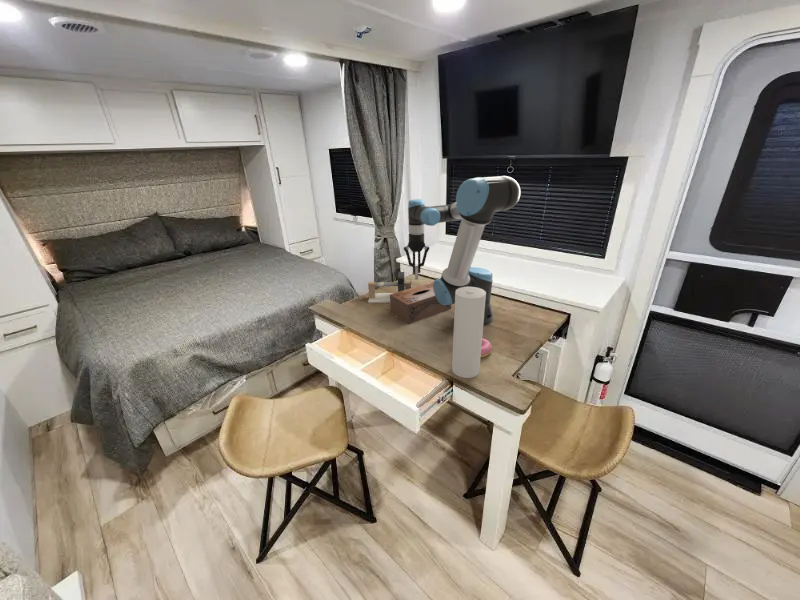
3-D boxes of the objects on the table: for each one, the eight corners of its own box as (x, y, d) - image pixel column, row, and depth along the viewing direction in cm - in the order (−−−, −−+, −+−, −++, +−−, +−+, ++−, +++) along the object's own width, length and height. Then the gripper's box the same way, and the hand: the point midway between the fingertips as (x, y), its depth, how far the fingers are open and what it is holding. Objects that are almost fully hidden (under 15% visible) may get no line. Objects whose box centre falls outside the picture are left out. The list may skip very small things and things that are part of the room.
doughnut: (496, 350, 126) (497, 341, 124) (481, 363, 119) (482, 353, 117) (472, 340, 133) (473, 331, 131) (456, 351, 126) (457, 342, 124)
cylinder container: (462, 381, 110) (468, 299, 97) (446, 366, 117) (449, 288, 105) (484, 372, 113) (492, 292, 101) (467, 359, 121) (472, 283, 109)
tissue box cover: (408, 324, 147) (407, 304, 143) (390, 313, 158) (389, 294, 154) (451, 309, 160) (451, 290, 156) (432, 299, 171) (432, 281, 167)
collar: (404, 297, 167) (403, 278, 163) (398, 297, 167) (397, 278, 163) (404, 289, 176) (404, 271, 172) (399, 289, 177) (398, 271, 172)
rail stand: (411, 302, 168) (410, 286, 164) (368, 302, 169) (367, 286, 165) (411, 294, 178) (411, 278, 174) (370, 294, 179) (369, 278, 175)
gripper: (429, 231, 162) (429, 276, 171) (403, 231, 162) (404, 276, 172) (430, 234, 155) (429, 281, 165) (402, 234, 156) (403, 281, 165)
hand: (416, 278), depth 168 cm, fingers closed
